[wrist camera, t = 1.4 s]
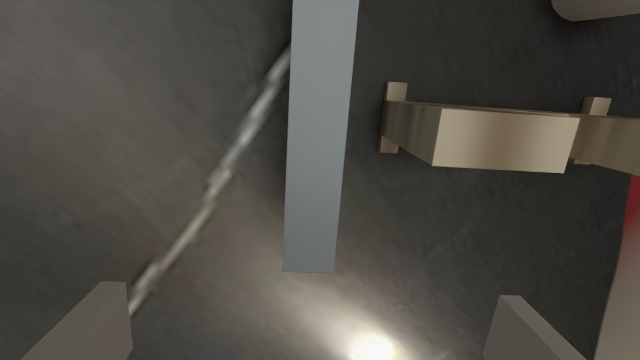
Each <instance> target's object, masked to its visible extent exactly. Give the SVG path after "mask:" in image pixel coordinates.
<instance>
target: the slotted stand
mask: <svg viewBox="0 0 640 360" xmlns="http://www.w3.org/2000/svg"><path fill="white" fill-rule="evenodd" d="M406 90H407V83H398V82H386V84H385V92H384V100H383V108H382V117H381V125H380V133H379V141H378V149H377V150H378V151H379V152H384V153H398V146H400V147H402V148H404V149H405V150H407V151H408V152H410V153H412V154H413V155H415V156H417V157H418V158H420V159H422V160H423V161H425V162H427V163H428V164H430V165H432V166H445V167H463V168H480V169H498V170H516V171H534V172H551V173H564V170H565V167H566V164H567V162H570V163H573V164H588V165H590V163H592V164H596V165H600V166H604V167H607V168H611V169H615V170H619V171H623V172H627V173H630V174H634V175H638V176H640V119H636V118H625V117H614V116H606V114H607V111H608V108H609V105H610V102H611V99H612V98H599V97H584V101H583V104H582V107H581V111H580V114H577V113H563V112H549V111H535V110H520V109H506V108H492V107H478V106H464V105H450V104H436V103H421V102H407V101H405V97H406Z"/></svg>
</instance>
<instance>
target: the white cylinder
mask: <svg viewBox="0 0 640 360" xmlns="http://www.w3.org/2000/svg"><path fill="white" fill-rule="evenodd" d="M551 2H552V5H553V8H554V9H555V11H556V12H557V13H558V14H559V15H560V17H562V18H565V19H567V20H570V21H582V20H590V19H598V18H606V17H613V16H621V15H629V14H637V13H640V0H551Z"/></svg>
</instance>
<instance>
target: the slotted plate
mask: <svg viewBox="0 0 640 360" xmlns="http://www.w3.org/2000/svg"><path fill="white" fill-rule="evenodd" d="M358 5H359V0H293V13H292V38H291V64H290V89H289V114H288V139H287V165H286V190H285V215H284V240H283V266H282V272H307V273H334V263H335V252H336V241H337V230H338V220H339V209H340V198H341V188H342V177H343V166H344V155H345V145H346V134H347V123H348V113H349V102H350V91H351V80H352V70H353V59H354V48H355V38H356V27H357V16H358Z"/></svg>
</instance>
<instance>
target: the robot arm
mask: <svg viewBox="0 0 640 360" xmlns="http://www.w3.org/2000/svg"><path fill="white" fill-rule="evenodd" d="M132 349H133V345H132V336H131V327H130V318H129V309H128V300H127V292H126V283H125V282H108V281H101V282H100V283H99V284H98V285H97V286H96V287H95V288H94V289H93V290H92V291H91V292H90V293H89V294H88V295H87V296H86V297H85V298H84V299H82V300H81V301H80V302H79V303H78V304H77V305H76V306H75V307H74V308H73V309H72V310H71V311H70V312H69V313H68V314H67V315H66V316H65V317H64V318H63V319H62V320H61V321H60V322H59V323H58V324H57V325H56V326H55V327H53V328H52V329H51V330H50V331H49V332H48V333H47V334H46V335H45V336H44V337H43V338H42V339H41V340H40V341H39V342H38V343H37V344H36V345H35V346H34V347H33V348H32V349H31V350H30V351H29V352H28V353H27V354H26V355H25V356H23V357H22V358H21V359H20V360H126V358H127V357H128V355H129V354H130V352H131V351H132ZM483 357H484V358H485V360H586V359H585V358H584V357H583V356H582V355H581V354H580V353H579V352H578V351H577V350H576V349H574V348H573V347H572V346H571V345H570V344H569V343H568V342H567V341H566V340H565V339H564V338H563V337H562V336H561V335H560V334H559V333H558V332H557V331H556V330H555V329H554V328H553V327H552V326H551V325H550V324H548V323H547V322H546V321H545V320H544V319H543V318H542V317H541V316H540V315H539V314H538V313H537V312H536V311H535V310H534V309H533V308H532V307H531V306H530V305H529V304H528V303H527V302H526V301H525V300H523V299H522V298H521V297H520V296H508V295H500V297H499V300H498V303H497V307H496V310H495V314H494V317H493V321H492V324H491V328H490V331H489V335H488V338H487V342H486V345H485V349H484V352H483Z"/></svg>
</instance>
